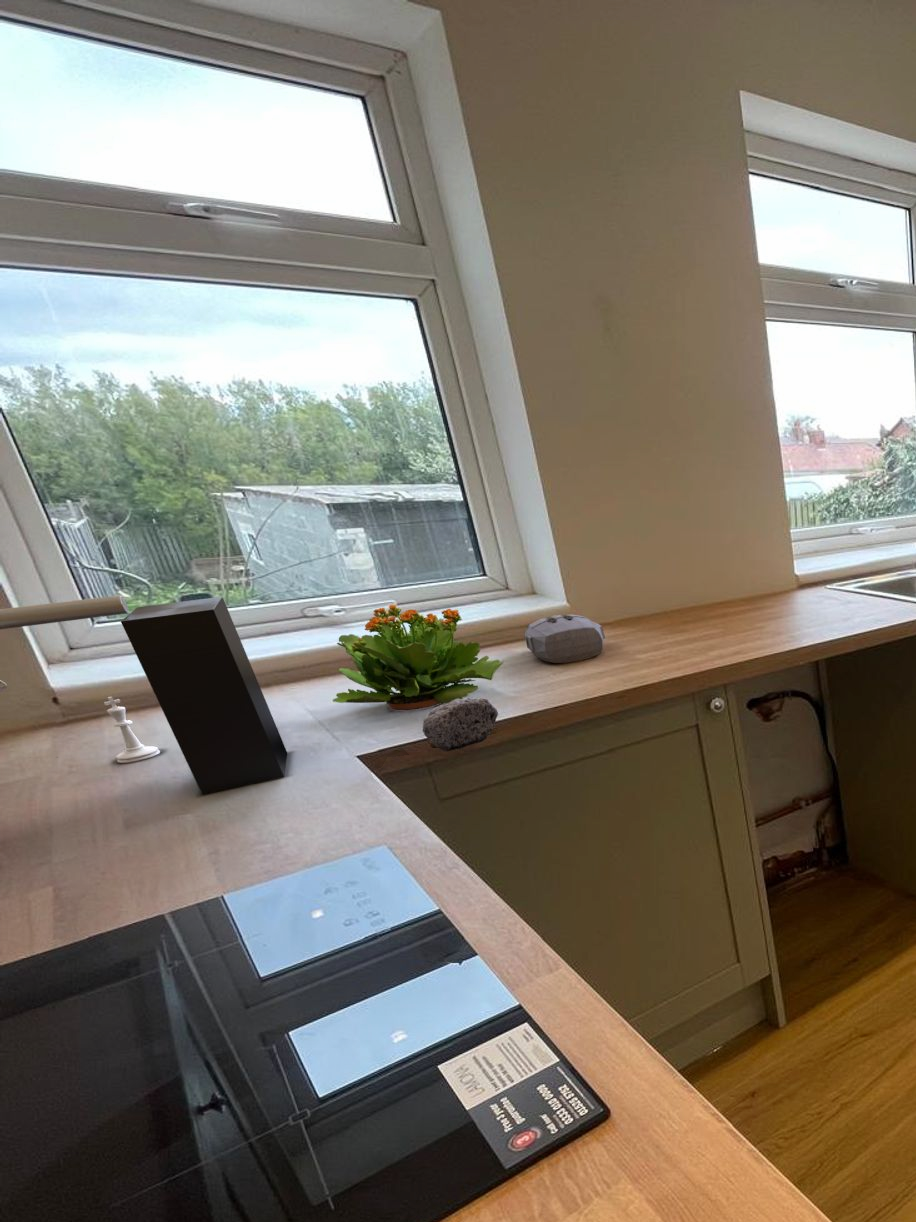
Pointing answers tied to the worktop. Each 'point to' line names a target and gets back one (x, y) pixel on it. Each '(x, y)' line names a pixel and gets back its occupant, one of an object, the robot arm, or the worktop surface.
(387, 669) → the potted flower
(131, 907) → the worktop surface
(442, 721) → the pumice stone
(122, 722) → the chess piece
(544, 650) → the soft grey pack
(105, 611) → the matchstick with dark head
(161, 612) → the black box
